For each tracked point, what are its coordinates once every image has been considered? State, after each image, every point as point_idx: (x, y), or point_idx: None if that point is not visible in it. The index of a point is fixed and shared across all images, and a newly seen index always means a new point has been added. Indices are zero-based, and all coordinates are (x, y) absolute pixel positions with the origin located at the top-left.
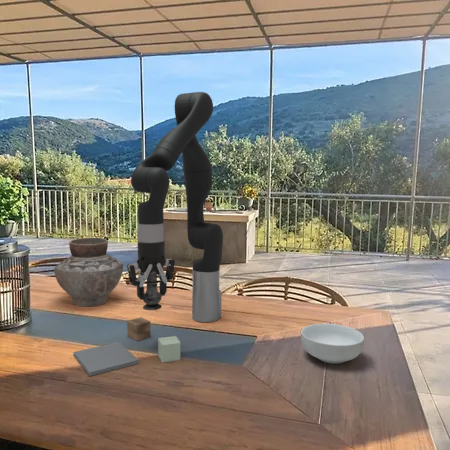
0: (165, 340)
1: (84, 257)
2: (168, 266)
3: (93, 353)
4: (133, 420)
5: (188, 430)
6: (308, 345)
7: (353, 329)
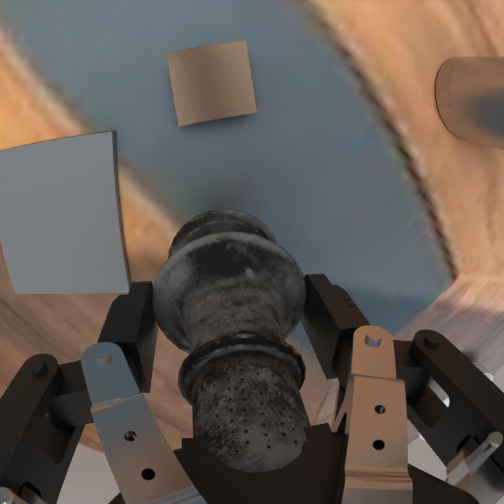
0: None
1: None
2: (451, 460)
3: (24, 190)
4: (92, 425)
5: None
6: None
7: None
